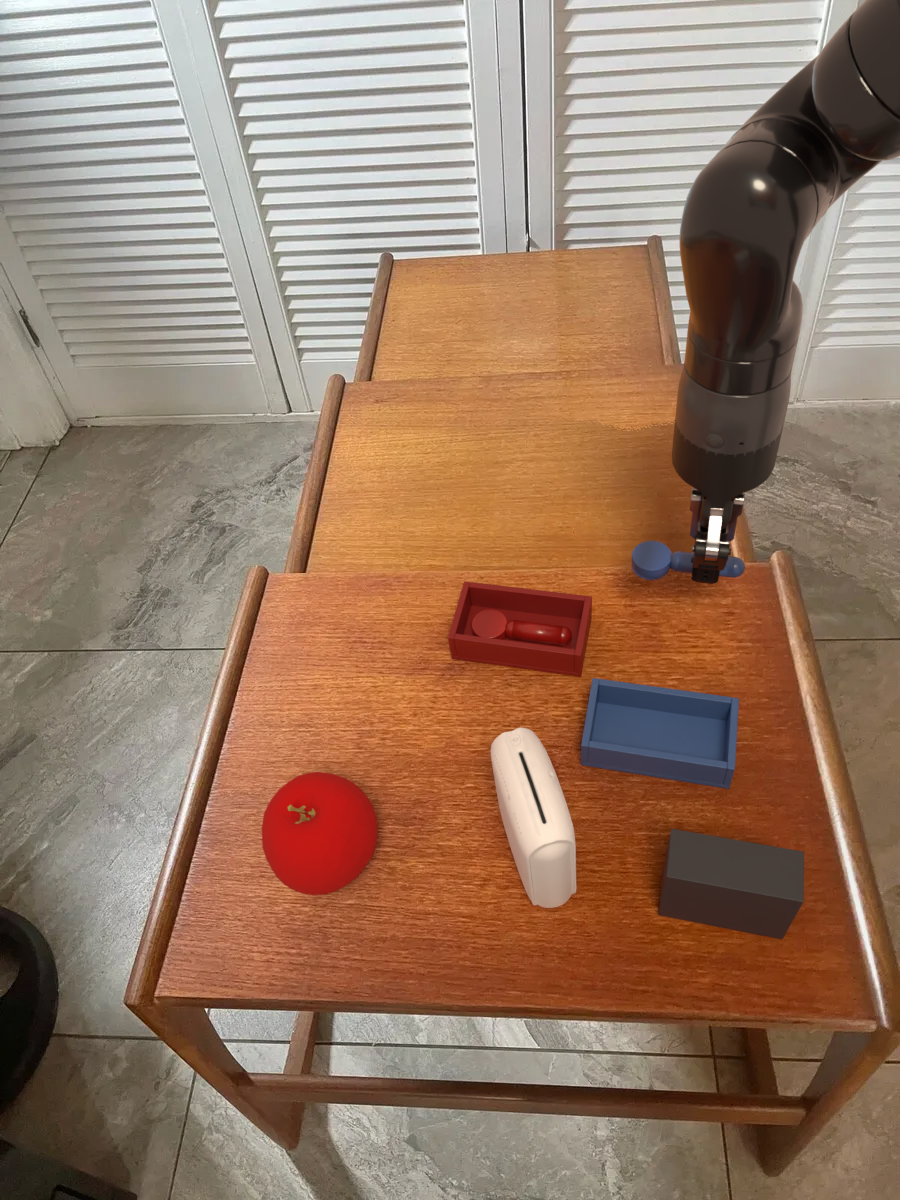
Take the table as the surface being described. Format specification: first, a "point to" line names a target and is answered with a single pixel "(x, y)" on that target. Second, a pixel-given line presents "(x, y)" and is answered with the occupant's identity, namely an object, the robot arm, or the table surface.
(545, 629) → the red spoon
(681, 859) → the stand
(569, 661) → the red bin
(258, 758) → the table surface
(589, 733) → the blue bin
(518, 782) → the photo printer
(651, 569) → the blue spoon
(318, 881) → the fruit
